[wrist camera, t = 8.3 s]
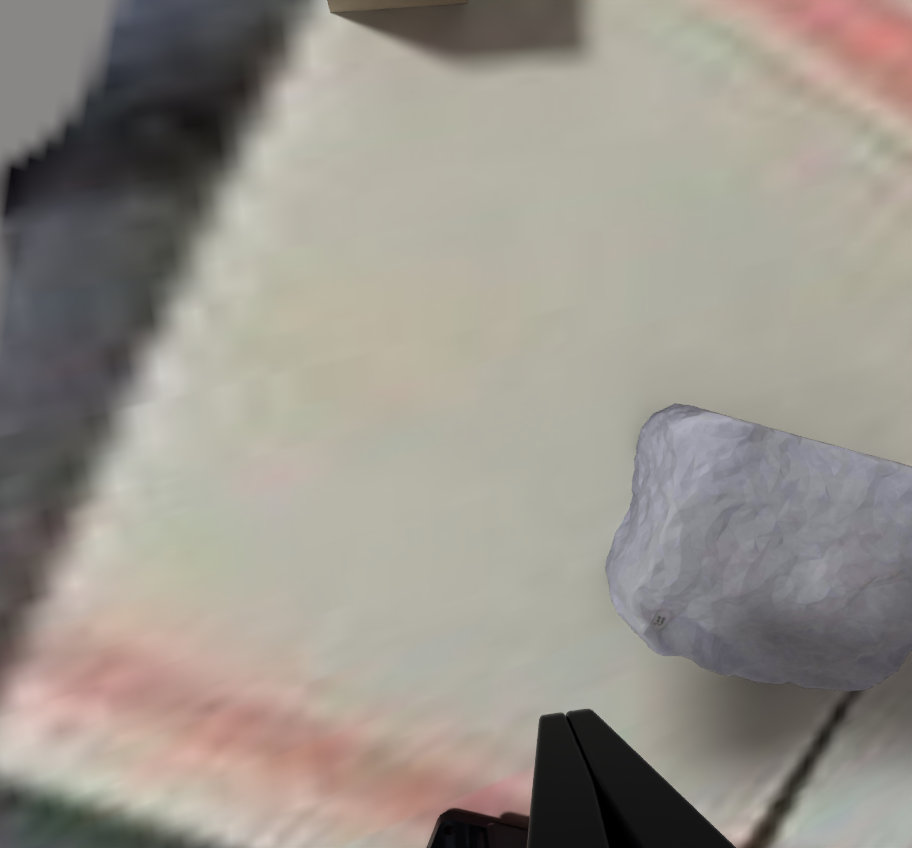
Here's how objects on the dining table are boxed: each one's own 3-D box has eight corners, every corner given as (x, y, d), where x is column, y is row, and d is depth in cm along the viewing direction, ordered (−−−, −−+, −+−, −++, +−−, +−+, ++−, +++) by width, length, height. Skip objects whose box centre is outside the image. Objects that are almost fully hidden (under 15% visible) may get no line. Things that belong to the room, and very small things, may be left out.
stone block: (806, 636, 25) (923, 447, 22) (882, 727, 21) (1044, 506, 17) (566, 583, 24) (648, 376, 21) (590, 665, 20) (700, 418, 16)
